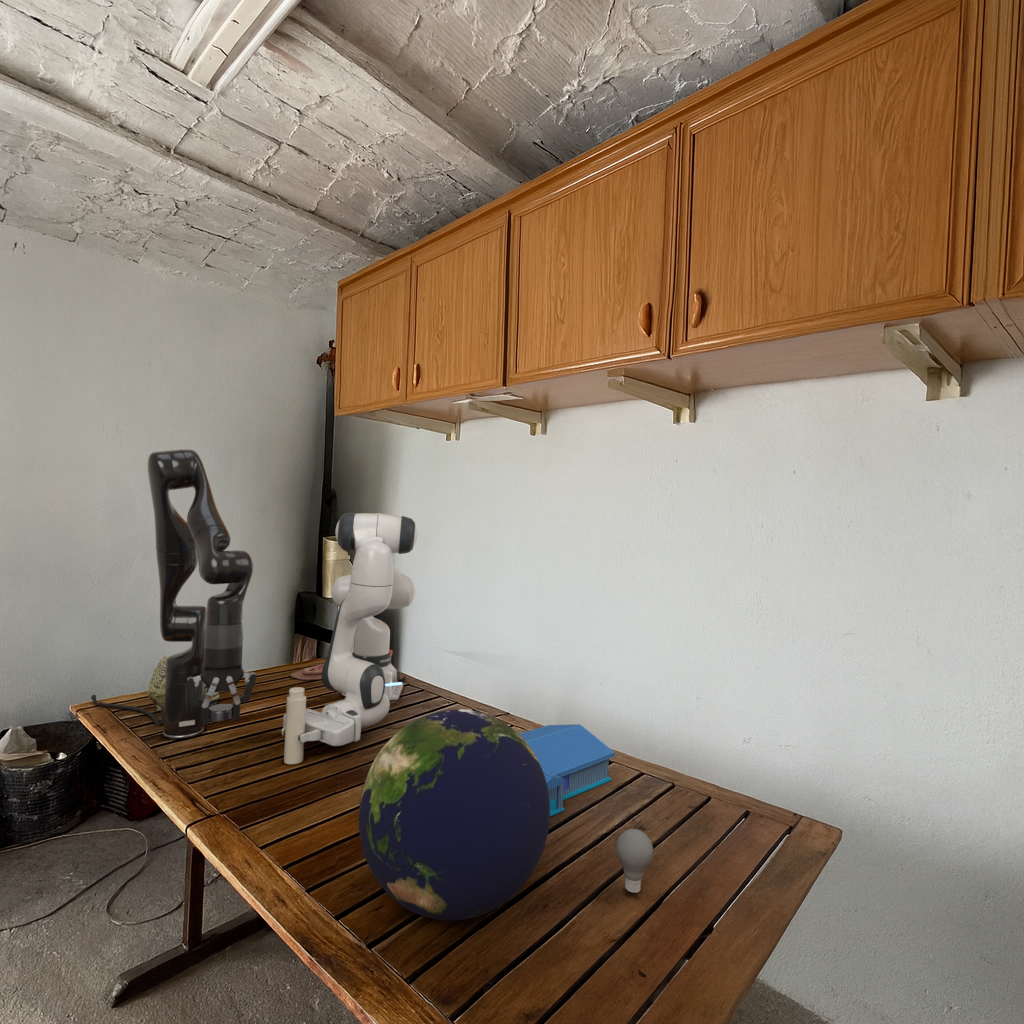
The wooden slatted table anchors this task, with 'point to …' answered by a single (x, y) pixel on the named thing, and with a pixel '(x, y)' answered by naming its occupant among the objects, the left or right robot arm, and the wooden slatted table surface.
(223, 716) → the lid
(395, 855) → the globe
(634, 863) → the light bulb
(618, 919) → the wooden slatted table surface
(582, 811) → the wooden slatted table surface
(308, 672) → the anatomical model
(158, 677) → the fossil
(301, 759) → the beige tall cylinder
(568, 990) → the wooden slatted table surface
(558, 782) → the model building
